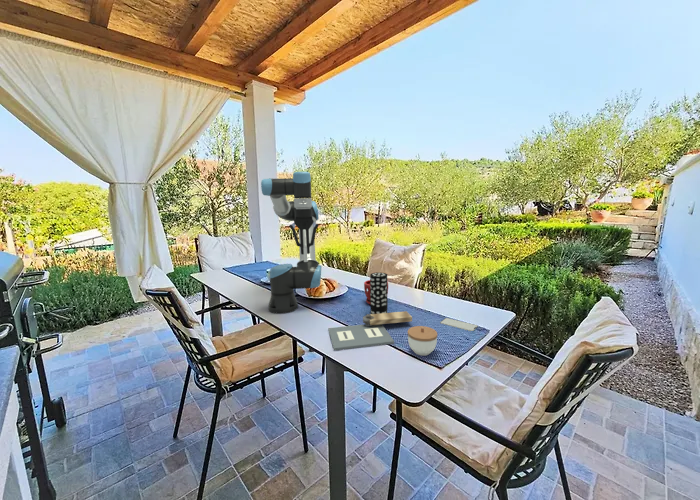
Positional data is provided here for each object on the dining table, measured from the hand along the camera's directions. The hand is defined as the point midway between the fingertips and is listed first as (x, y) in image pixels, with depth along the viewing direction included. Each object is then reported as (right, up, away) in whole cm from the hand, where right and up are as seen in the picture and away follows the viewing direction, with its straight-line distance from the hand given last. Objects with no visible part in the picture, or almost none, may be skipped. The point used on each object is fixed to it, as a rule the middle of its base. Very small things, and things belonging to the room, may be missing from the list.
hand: (305, 261), depth 132 cm
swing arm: (+36, -27, 0) cm, 45 cm away
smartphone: (+69, -29, 0) cm, 75 cm away
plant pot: (+34, -24, +30) cm, 51 cm away
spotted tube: (+34, -27, +15) cm, 46 cm away
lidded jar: (+47, -33, -22) cm, 61 cm away
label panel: (+24, -31, -10) cm, 40 cm away
